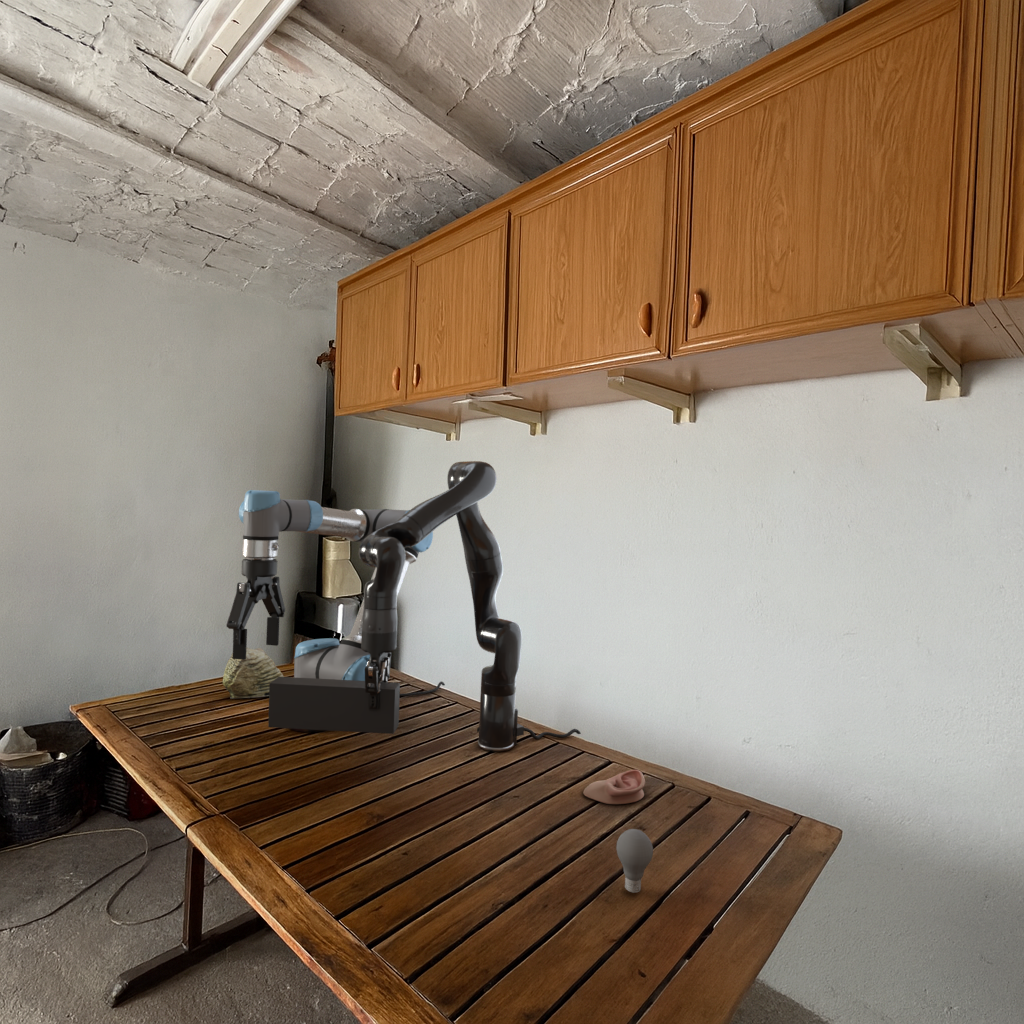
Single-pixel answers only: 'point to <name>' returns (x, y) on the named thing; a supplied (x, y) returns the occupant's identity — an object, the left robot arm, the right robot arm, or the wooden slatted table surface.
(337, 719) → the bar
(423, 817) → the wooden slatted table surface
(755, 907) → the wooden slatted table surface
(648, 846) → the light bulb
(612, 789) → the anatomical model
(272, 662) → the fossil
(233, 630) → the left robot arm
